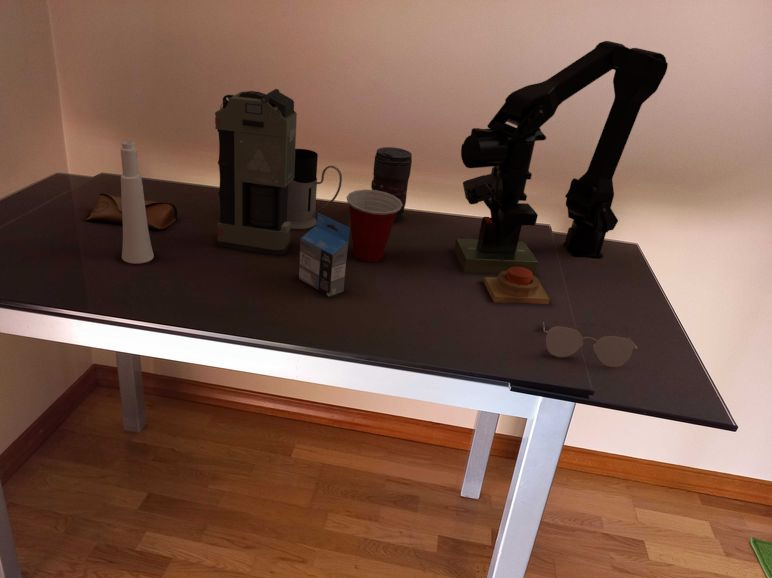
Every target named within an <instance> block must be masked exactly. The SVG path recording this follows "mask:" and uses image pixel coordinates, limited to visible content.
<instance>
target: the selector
mask: <svg viewBox="0 0 772 578" xmlns="http://www.w3.org/2000/svg"><path fill="white" fill-rule="evenodd" d="M522 226H523V225H520V226H519V227H518V228H517V229H516V231H515V232H514V233H513V234H512V235H511V237H510V238H509V239H508V240H507V242H506V243H505V244H504V245H503V246H498V245H497V234H498V220H497V219H496V218H491V217H490V216H483V217H482V218H481V224H480V227H479V233H478V238H477V239H478V243H477V247H478V248H479V250H480V251H481V252H502V253H516V249H517V244H518V241H520V240H519V239H520V236H521V231H522Z"/></svg>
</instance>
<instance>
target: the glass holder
mask: <svg viewBox="0 0 772 578" xmlns="http://www.w3.org/2000/svg"><path fill="white" fill-rule="evenodd" d="M318 156H319V154H318V152H316V151H314V150H311V149H306V148H295V170H294V179H293V180H292V181H291V182H290V183H289V184H288V204H287V222H291V228H290V229H293V230H305V229H310V228H311V229H312V228H314V227H315V226H316V221H317V217H316V215H317V213H319V211H321V210H323V209H325V208H326V207H328V206H329V205H331V204H332V203H333V202H335V200H336V198H337V197H338V195H339V193H340V190H341V187H342V182H343V175H342V171H341V170H340V169H339V167H337V166H335V165H328V166H326V167H325V168H323V170H322V173H321V177H320V178H321V179H320V181H318V177H317V176H318V175H317V174H318V158H319V157H318ZM328 169H334V170H335V171H336V172H337V173H338V175H339V183H338V187H337V190H336V192H335V194H334V196H333V197H332V198H331V199H330V201H328V202H327V203H326V204H324V205H322V206H321V207H319V208H318V209H316V208H317V207H316V206H317V191H318V185H321V184H322V183H323V182H324V180H325V174H326V171H327V170H328Z"/></svg>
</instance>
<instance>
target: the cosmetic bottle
mask: <svg viewBox="0 0 772 578" xmlns="http://www.w3.org/2000/svg"><path fill="white" fill-rule="evenodd" d="M135 143H136V142H135V141H132V140H124V141H122V142H121V146H122V147H121V148H120V157H121V169H122V173H121V175H120V190H121V191H120V194H121V196H120V197H121V198H122V219H123V225H122V250H121V260H122V261H124V262H126V263H127V264H136V265H137V264H144V263H149V262H150V261H152V260H153V259H154V257H155V254H154V251H153V247H152V242H151V237H150V231H149V229H148V224H147V217H146V209H145V201H144V200H145V194H144V193H145V192H144V184H143V178H142V174H140V171H139V163H138V162H139V160H138V149H137V147H136V146H135V145H136V144H135Z"/></svg>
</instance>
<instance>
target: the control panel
mask: <svg viewBox="0 0 772 578" xmlns="http://www.w3.org/2000/svg"><path fill="white" fill-rule="evenodd" d="M477 243H478V238H477V239H476V238H456V239H455V243H454V244H455V245H454V249H453V250H454V251H453V252H454V255H455V256H456V259H457V261H458V263H459V265H460V267H461V269H462V272H463V273H465V274H466V273H467V274H468V273H469V274H473V273H474V274H490V275H491V274H494V275H499V274H500V272H503V271H507V270H508V269H509V268H511V267H523V268H526V269H529V270H530V271H531V272H532V273H533V276H536V272H537V268H538V264H539V261H538V259H537V257H536V256H535V255H534V253H533V252H532V250H531V249H530V248H529V247H528V245H527V244H526V242H525V241H524V240H518V244H517V249H516V253H502V252H481V251H480V250H479V248H478V247H477Z"/></svg>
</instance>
